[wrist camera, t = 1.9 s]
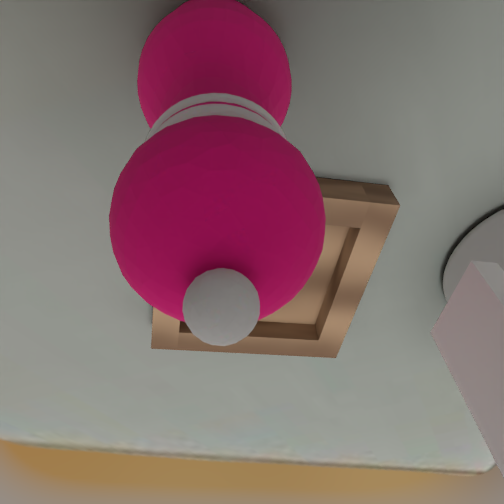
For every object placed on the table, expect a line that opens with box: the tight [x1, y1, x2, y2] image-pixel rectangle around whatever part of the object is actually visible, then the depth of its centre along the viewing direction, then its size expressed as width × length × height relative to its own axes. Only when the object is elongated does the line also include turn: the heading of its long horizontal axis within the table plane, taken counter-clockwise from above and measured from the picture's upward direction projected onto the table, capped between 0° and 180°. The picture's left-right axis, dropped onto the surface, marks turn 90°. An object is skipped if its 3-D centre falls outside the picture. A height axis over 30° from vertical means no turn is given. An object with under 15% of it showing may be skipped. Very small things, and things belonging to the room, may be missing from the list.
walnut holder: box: [151, 177, 400, 358], centre depth 34 cm, size 15×15×2 cm
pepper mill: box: [109, 0, 326, 346], centre depth 18 cm, size 7×7×20 cm
